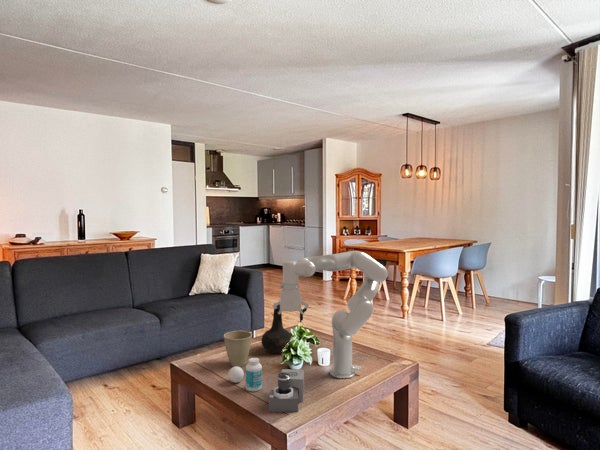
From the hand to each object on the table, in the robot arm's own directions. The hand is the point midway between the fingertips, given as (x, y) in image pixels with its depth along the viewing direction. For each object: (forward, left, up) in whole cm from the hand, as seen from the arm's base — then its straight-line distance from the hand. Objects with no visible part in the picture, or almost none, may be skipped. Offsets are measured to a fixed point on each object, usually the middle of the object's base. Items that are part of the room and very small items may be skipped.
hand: (290, 321), depth 187 cm
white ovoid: (+27, +1, -28) cm, 39 cm away
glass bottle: (+8, -38, -28) cm, 48 cm away
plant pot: (+28, -19, -28) cm, 44 cm away
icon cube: (-1, +17, -29) cm, 33 cm away
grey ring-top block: (+3, +26, -28) cm, 39 cm away
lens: (+3, +26, -23) cm, 35 cm away
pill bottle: (+17, +9, -28) cm, 34 cm away
